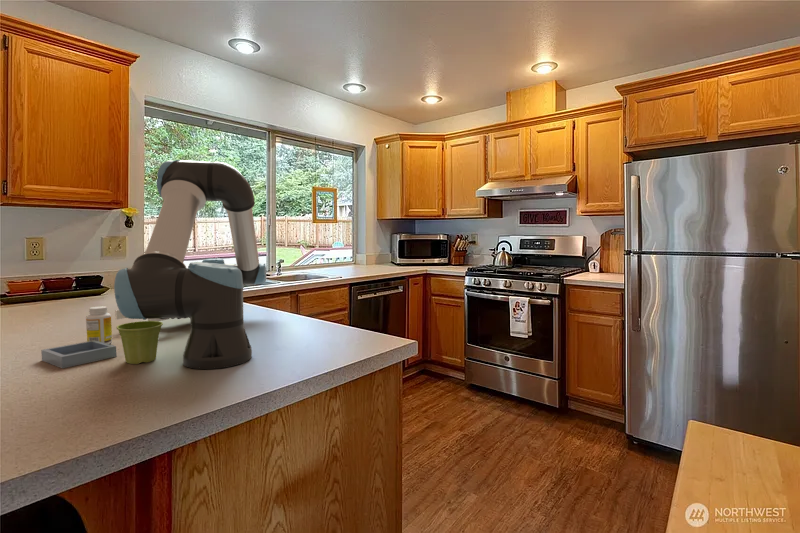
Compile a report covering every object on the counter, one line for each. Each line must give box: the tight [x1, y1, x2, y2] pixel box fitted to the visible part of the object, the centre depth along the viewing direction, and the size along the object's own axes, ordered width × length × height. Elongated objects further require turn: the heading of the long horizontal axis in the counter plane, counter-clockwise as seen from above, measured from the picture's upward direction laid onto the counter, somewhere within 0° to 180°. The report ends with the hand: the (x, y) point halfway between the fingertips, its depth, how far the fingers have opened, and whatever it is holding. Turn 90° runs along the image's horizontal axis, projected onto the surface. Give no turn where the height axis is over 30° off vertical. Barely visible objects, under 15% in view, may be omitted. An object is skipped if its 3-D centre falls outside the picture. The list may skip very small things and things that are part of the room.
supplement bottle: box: [85, 305, 113, 345], centre depth 113 cm, size 6×6×10 cm
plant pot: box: [116, 320, 164, 365], centre depth 98 cm, size 9×9×9 cm
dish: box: [41, 340, 117, 369], centre depth 100 cm, size 11×11×3 cm
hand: (131, 316), depth 122 cm, fingers open, 13 cm apart
